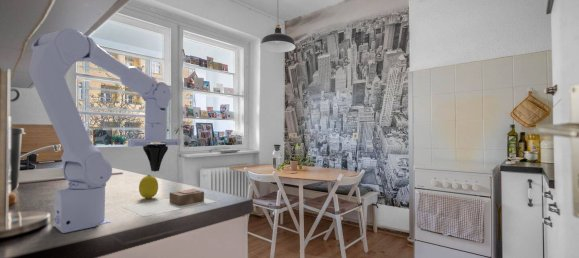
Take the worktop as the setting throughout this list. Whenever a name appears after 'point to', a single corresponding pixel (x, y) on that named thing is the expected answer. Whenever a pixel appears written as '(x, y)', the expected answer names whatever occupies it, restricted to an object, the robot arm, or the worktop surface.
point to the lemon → (148, 187)
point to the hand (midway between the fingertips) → (155, 170)
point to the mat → (160, 207)
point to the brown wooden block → (186, 197)
